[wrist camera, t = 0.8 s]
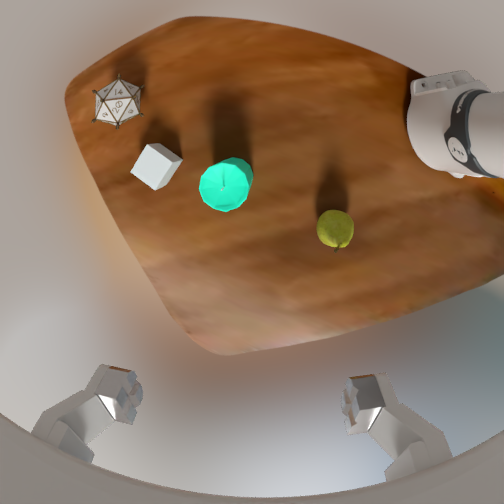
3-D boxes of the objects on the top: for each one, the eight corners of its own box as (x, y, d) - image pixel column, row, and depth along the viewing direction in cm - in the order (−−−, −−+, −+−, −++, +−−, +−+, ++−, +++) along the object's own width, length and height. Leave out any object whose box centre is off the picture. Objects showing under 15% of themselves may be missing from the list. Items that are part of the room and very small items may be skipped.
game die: (139, 71, 34) (108, 58, 25) (165, 104, 37) (138, 97, 27) (103, 107, 37) (68, 104, 27) (126, 140, 39) (93, 143, 30)
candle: (207, 171, 41) (185, 183, 30) (239, 149, 39) (228, 153, 28) (228, 201, 43) (215, 224, 32) (260, 181, 41) (258, 197, 30)
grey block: (159, 143, 39) (146, 144, 35) (183, 159, 40) (172, 162, 36) (144, 168, 41) (130, 172, 36) (166, 184, 42) (155, 190, 37)
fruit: (353, 224, 43) (379, 252, 32) (326, 244, 45) (343, 279, 34) (334, 197, 41) (357, 218, 30) (306, 219, 43) (319, 247, 32)
